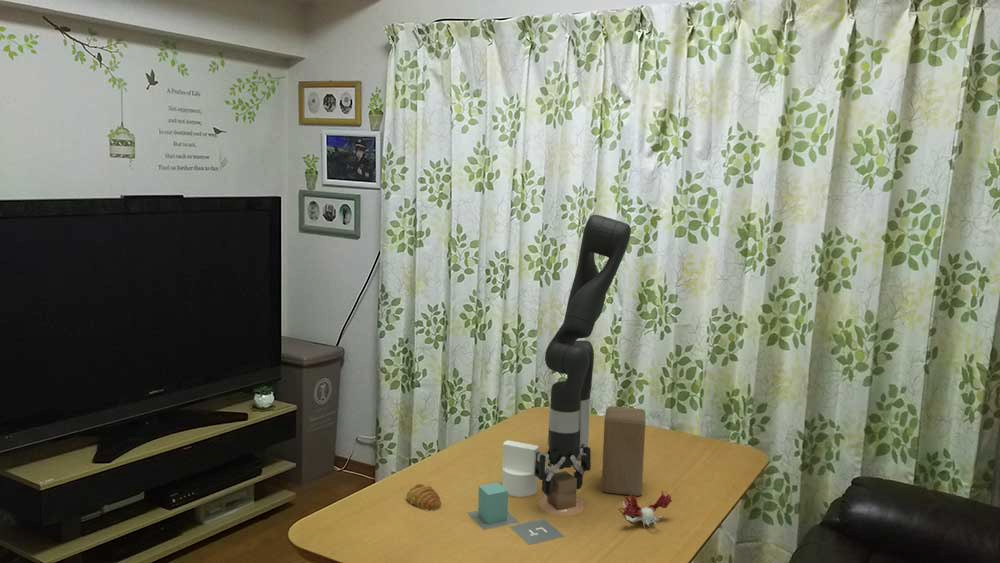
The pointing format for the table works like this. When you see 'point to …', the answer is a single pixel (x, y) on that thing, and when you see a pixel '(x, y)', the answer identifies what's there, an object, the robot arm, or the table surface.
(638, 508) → the figurine
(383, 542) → the table surface
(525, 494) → the cylinder with rectangular tab
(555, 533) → the code tile
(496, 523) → the code tile
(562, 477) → the walnut block
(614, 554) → the table surface
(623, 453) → the block
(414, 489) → the pastry
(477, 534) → the table surface
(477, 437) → the table surface
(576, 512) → the pink round disc
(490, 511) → the teal block
